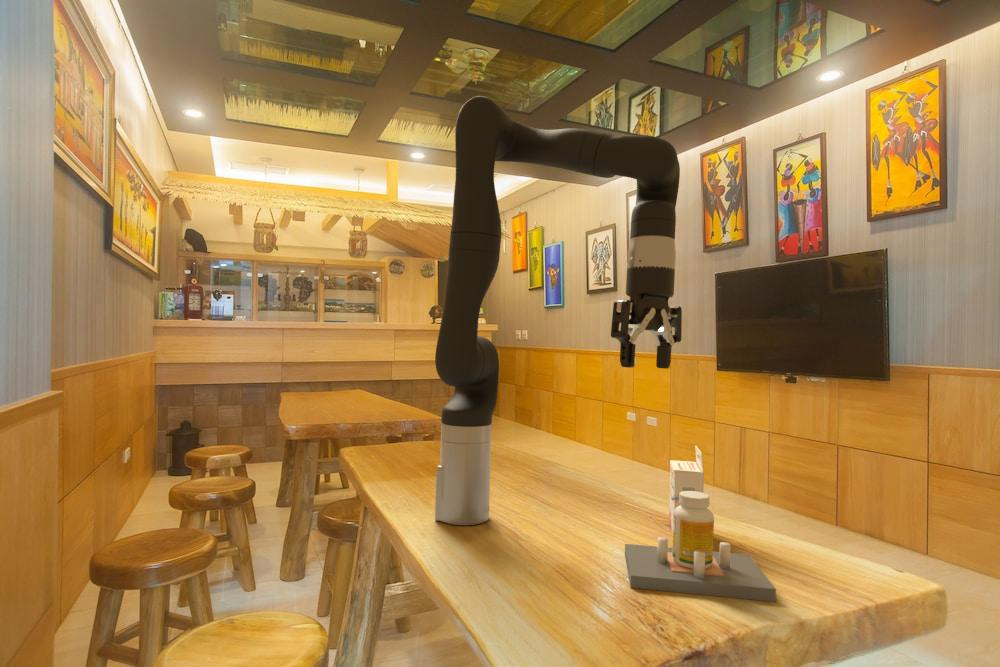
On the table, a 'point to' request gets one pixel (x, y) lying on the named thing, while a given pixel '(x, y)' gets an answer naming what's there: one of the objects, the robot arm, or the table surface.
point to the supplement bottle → (692, 529)
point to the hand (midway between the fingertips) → (645, 367)
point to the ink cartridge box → (684, 480)
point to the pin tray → (697, 573)
